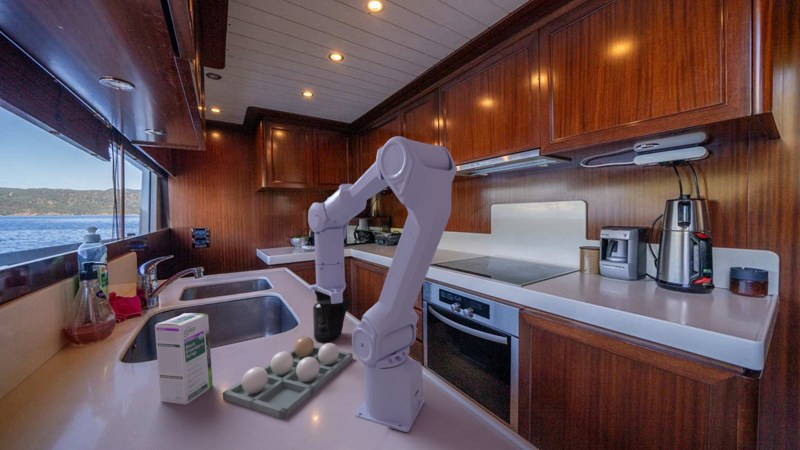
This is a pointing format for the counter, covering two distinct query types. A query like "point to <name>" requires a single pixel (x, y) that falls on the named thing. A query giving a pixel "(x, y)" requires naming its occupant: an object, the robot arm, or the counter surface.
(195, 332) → the syrup box
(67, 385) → the counter surface
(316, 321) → the supplement bottle
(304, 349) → the brown egg
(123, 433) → the counter surface
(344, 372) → the counter surface
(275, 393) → the egg carton
